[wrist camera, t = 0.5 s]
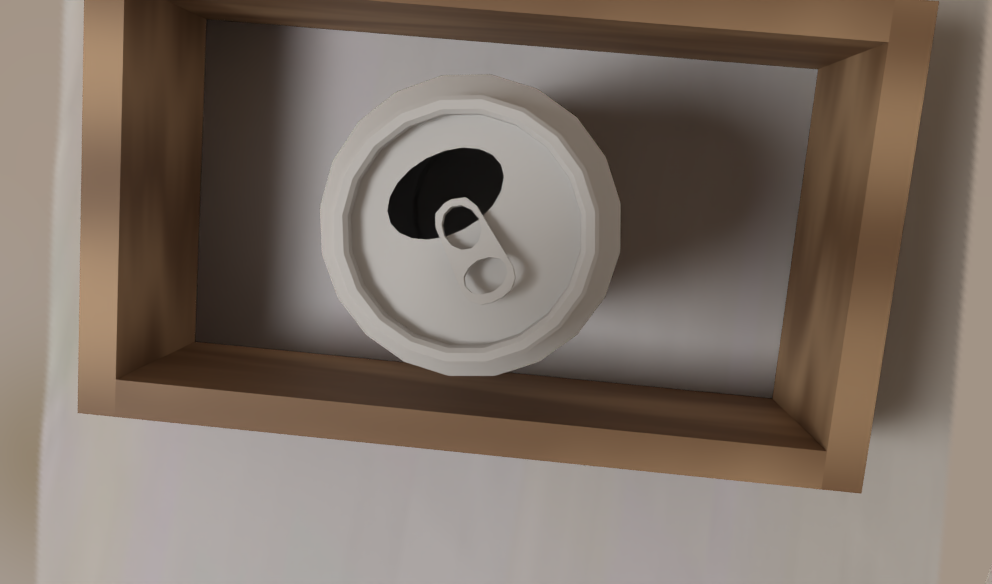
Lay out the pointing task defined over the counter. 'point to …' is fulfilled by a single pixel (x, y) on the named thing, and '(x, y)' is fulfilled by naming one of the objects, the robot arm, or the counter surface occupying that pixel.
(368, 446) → the counter surface
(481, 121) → the can
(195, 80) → the box frame
